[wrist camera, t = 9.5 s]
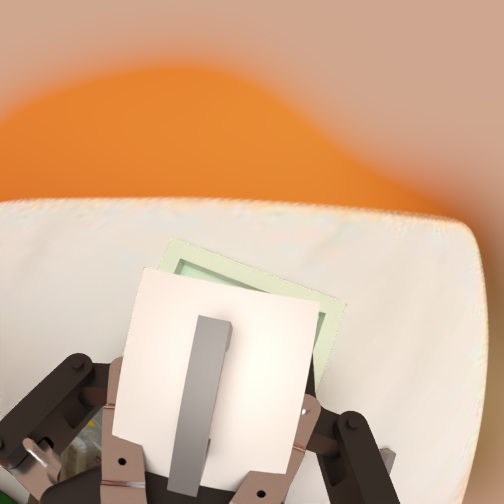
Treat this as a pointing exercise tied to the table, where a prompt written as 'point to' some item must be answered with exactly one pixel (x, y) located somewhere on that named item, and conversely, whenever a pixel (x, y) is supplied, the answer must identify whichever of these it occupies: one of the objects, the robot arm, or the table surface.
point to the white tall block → (213, 380)
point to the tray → (239, 275)
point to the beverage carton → (81, 452)
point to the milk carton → (6, 499)
